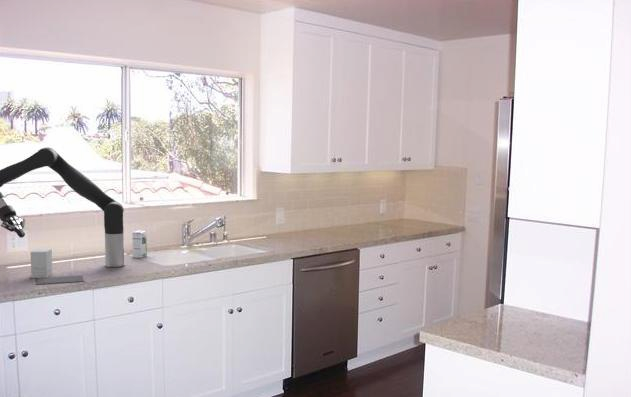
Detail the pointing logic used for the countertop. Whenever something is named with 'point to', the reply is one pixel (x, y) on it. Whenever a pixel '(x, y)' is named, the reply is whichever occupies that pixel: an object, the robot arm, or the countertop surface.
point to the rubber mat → (59, 280)
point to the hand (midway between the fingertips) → (22, 236)
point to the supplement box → (41, 263)
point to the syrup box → (139, 244)
